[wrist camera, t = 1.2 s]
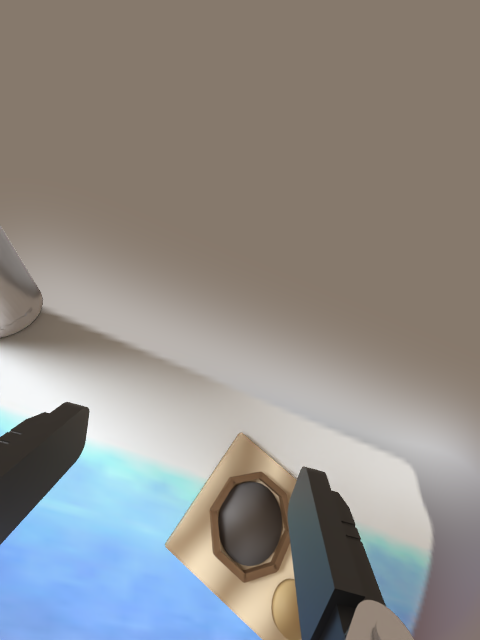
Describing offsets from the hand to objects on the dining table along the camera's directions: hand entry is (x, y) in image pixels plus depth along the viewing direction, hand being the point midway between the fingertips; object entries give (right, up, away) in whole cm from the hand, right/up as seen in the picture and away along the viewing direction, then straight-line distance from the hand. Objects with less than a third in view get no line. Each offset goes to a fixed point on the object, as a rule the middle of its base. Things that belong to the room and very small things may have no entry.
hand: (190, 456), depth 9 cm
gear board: (+4, -19, +19) cm, 27 cm away
